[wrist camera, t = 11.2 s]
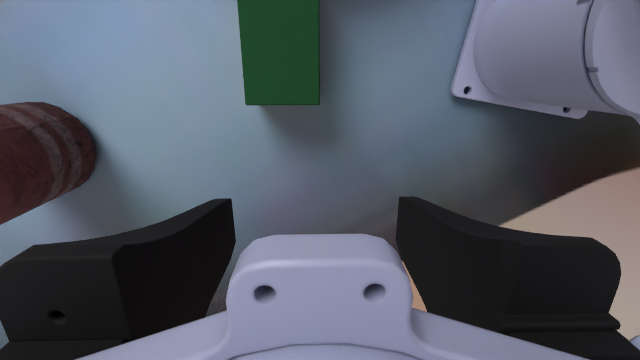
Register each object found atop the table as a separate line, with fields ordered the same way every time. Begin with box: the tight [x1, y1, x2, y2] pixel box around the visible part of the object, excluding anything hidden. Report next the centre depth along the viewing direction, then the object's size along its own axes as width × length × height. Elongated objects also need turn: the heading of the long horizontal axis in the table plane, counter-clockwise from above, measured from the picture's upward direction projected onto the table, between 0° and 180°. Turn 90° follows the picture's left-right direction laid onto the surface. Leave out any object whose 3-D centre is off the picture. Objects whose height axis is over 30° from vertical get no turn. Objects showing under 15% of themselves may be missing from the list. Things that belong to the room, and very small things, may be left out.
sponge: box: [237, 0, 320, 105], centre depth 18 cm, size 6×4×3 cm, turn 0°
